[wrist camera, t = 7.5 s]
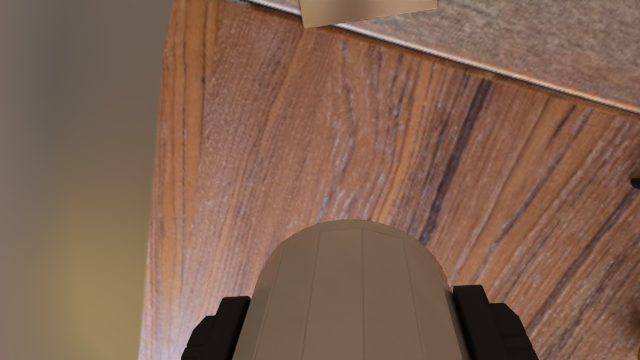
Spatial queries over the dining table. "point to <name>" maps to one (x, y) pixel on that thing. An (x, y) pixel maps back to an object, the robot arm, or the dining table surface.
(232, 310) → the robot arm
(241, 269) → the dining table surface
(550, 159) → the dining table surface
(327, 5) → the coaster
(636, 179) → the sunglasses
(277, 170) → the dining table surface
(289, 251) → the cream dish
